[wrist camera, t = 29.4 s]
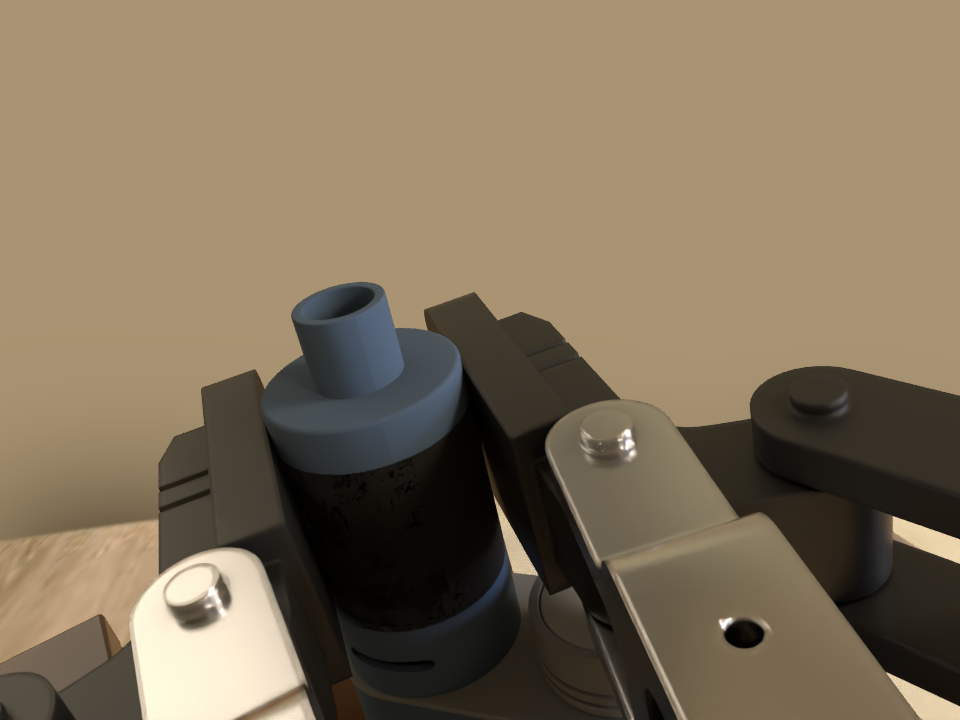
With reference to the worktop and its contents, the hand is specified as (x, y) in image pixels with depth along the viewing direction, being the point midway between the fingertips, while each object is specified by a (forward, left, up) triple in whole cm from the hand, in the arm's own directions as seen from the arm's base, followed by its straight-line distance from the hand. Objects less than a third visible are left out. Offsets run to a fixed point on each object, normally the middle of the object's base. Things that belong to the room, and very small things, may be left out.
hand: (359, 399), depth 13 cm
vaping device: (0, -3, -10) cm, 10 cm away
